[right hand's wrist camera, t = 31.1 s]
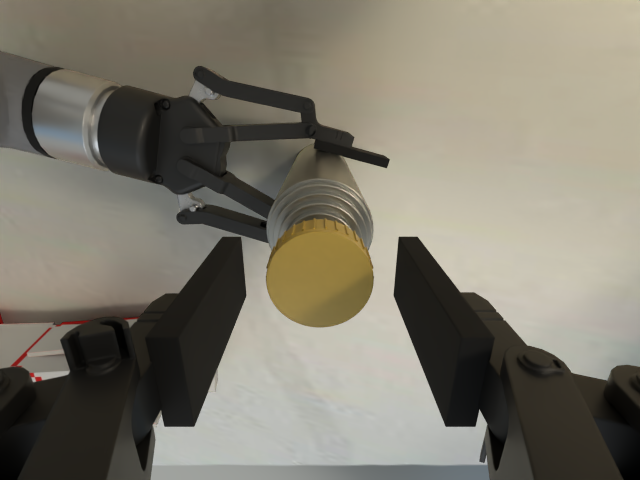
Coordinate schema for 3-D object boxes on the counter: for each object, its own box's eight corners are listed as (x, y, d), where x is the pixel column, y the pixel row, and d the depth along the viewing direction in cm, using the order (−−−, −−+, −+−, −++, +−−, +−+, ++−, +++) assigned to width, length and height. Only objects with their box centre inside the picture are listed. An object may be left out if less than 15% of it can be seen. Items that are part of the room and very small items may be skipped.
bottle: (299, 137, 36) (261, 187, 12) (352, 150, 36) (410, 221, 13) (288, 189, 38) (238, 317, 14) (339, 201, 38) (368, 343, 15)
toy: (210, 442, 38) (-104, 468, 34) (225, 360, 50) (-4, 372, 46) (203, 353, 34) (-158, 370, 29) (221, 288, 46) (-32, 293, 42)
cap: (258, 228, 14) (251, 242, 12) (360, 208, 14) (365, 219, 12) (283, 315, 15) (279, 336, 14) (376, 298, 15) (382, 318, 14)
